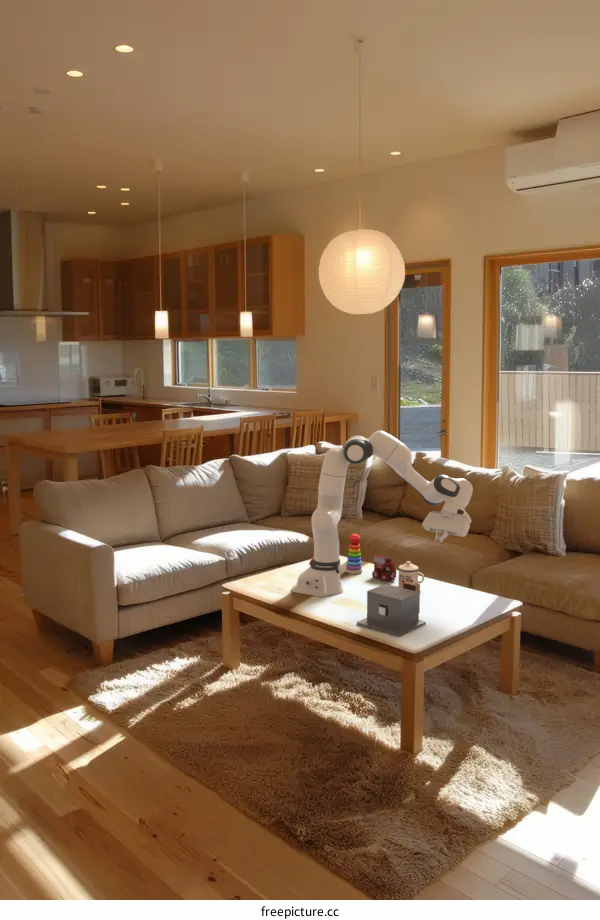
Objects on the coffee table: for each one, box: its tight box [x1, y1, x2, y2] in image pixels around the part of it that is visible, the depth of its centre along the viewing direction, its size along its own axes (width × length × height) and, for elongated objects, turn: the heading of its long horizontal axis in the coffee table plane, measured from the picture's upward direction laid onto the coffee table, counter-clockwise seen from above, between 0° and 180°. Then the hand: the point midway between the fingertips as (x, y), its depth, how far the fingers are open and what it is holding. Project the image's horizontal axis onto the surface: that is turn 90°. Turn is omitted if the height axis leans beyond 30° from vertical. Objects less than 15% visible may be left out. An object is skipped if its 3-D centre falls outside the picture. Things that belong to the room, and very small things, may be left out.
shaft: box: [379, 581, 421, 616], centre depth 319 cm, size 21×6×12 cm, turn 137°
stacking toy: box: [345, 533, 363, 575], centre depth 385 cm, size 8×8×19 cm
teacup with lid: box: [397, 560, 425, 588], centre depth 363 cm, size 12×9×12 cm
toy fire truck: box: [371, 554, 397, 582], centre depth 375 cm, size 7×12×10 cm, turn 45°
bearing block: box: [356, 583, 427, 638], centre depth 316 cm, size 18×20×13 cm
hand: (438, 540), depth 336 cm, fingers closed
